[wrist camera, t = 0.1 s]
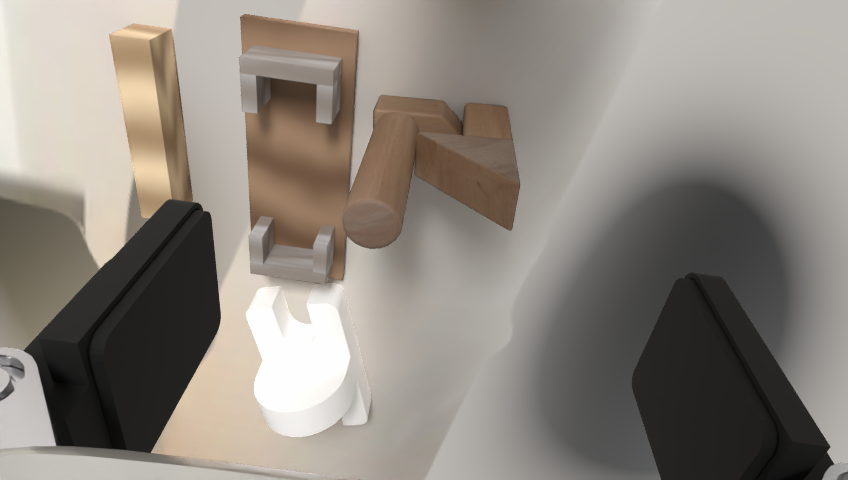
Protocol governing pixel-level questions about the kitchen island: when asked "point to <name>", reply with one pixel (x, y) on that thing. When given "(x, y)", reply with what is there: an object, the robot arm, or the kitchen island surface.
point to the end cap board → (297, 144)
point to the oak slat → (152, 114)
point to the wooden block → (431, 165)
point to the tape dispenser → (308, 363)
